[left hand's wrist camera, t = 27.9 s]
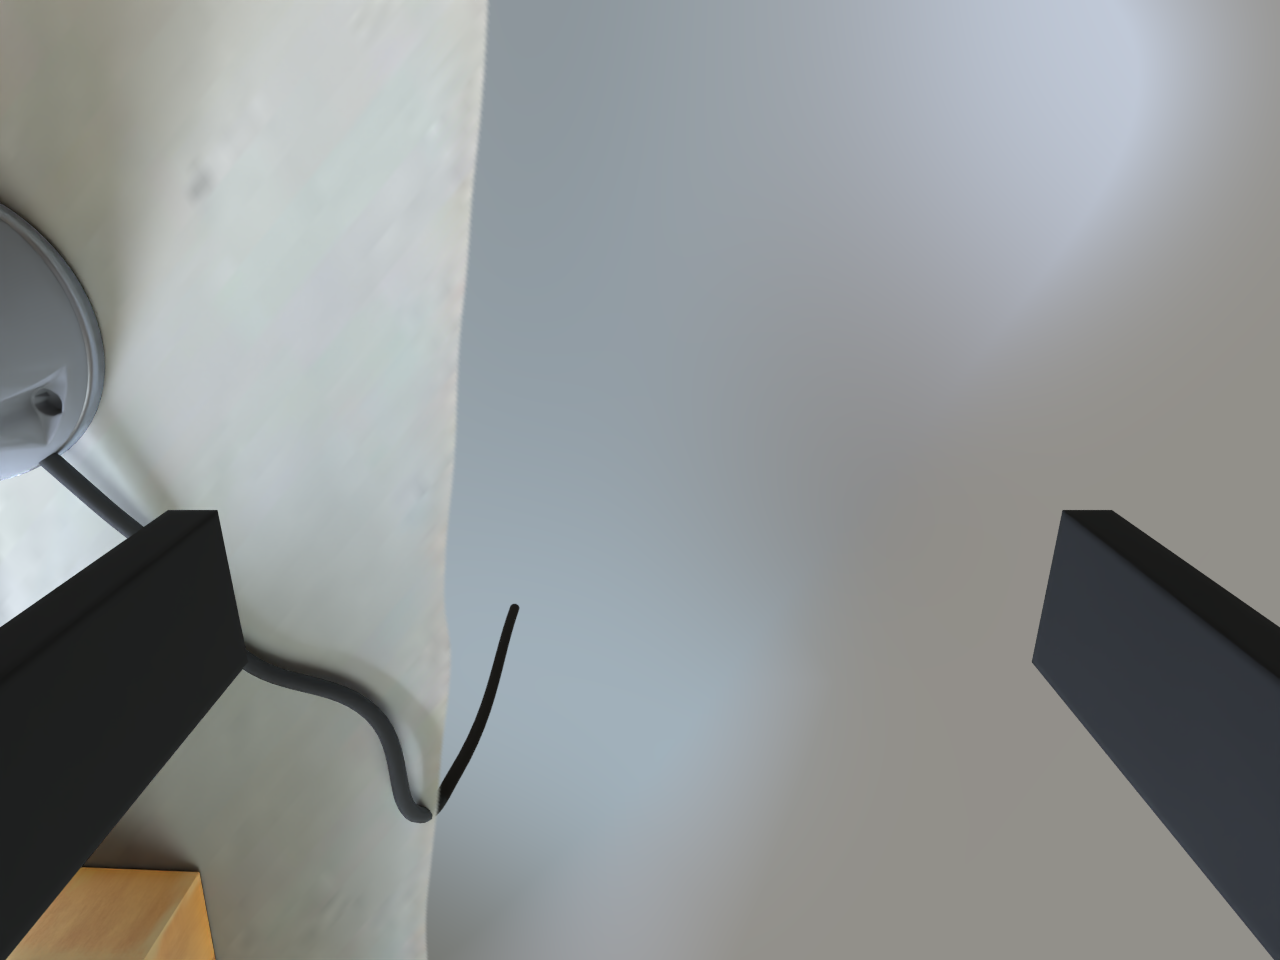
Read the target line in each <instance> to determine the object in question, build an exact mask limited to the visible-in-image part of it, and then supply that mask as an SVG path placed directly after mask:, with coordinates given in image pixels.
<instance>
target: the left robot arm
mask: <svg viewBox="0 0 1280 960" xmlns="http://www.w3.org/2000/svg"><path fill="white" fill-rule="evenodd" d="M104 373H105V367H104V351H103V343H102V339H101V334H100V330H99V326H98V323H97V320H96V317H95V314H94V311H93V309H92V307H91V304H90V302H89V299H88V298H87V296H86V294H85V292H84V290H83V288H82V286H81V284H80V283H79V281H78V279H77V278H76V276H75V275H74V273H73V271H72V270H71V269H70V267H69V266H68V264H67V263H66V262H65V260H64V259H63V258H62V256H61V255H60V254H59V253H58V252H57V251H56V249H55V248H54V247H53V246H52V245H51V244H50V243H49V242H48V241H47V240H46V239H45V238H44V237H43V236H42V235H41V234H40V233H39V232H38V231H37V230H36V229H35V228H34V227H32V226H31V225H30V224H29V223H28V222H27V221H25V220H24V219H23V218H22V217H20V216H19V215H17V214H16V213H15V212H13V211H12V210H11V209H9V208H8V207H6V206H4V205H3V204H1V203H0V480H4V479H8V478H11V477H15V476H18V475H21V474H24V473H26V472H28V471H31V470H33V469H35V468H37V467H39V466H42V467H43V468H44V469H46V470H47V471H48V472H49V473H50V474H51V475H52V476H54V477H55V478H56V479H57V480H58V481H59V482H60V483H62V484H63V485H64V486H65V487H66V488H67V489H69V490H70V491H71V492H72V493H73V494H74V495H75V496H77V497H78V498H79V499H80V500H81V501H82V502H84V503H85V504H86V505H87V506H88V507H89V508H91V509H92V510H93V511H94V512H95V513H96V514H98V515H99V516H100V517H101V518H102V519H104V520H105V521H106V522H107V523H109V524H110V525H111V526H112V527H114V528H115V529H116V530H117V531H119V532H120V533H121V534H122V535H124V536H125V537H126V538H128V539H126V540H125V541H123V542H122V543H120V544H119V545H117V546H116V547H115V548H113V549H112V550H110V551H109V552H107V553H106V554H105V555H103V556H102V557H100V558H99V559H97V560H96V561H95V562H93V563H92V564H90V565H89V566H87V567H86V568H85V569H83V570H82V571H80V572H79V573H77V574H76V575H75V576H73V577H72V578H70V579H69V580H67V581H66V582H64V583H63V584H62V585H60V586H59V587H57V588H56V589H54V590H53V591H52V592H50V593H49V594H47V595H46V596H44V597H43V598H42V599H40V600H39V601H37V602H36V603H34V604H33V605H32V606H30V607H29V608H27V609H26V610H24V611H23V612H22V613H20V614H19V615H17V616H16V617H14V618H13V619H11V620H10V621H9V622H7V623H6V624H4V625H3V626H1V627H0V960H6V959H7V958H8V956H9V955H10V954H11V953H12V952H13V950H14V949H15V948H16V947H17V945H18V944H19V943H20V942H21V941H22V939H23V938H24V937H25V936H26V934H27V933H28V932H29V931H30V929H31V928H32V927H33V926H34V925H35V923H36V922H37V921H38V920H39V918H40V917H41V916H42V915H43V913H44V912H45V911H46V910H47V909H48V907H49V906H50V905H51V904H52V902H53V901H54V900H55V899H56V898H57V896H58V895H59V894H60V893H61V891H62V890H63V889H64V888H65V886H66V885H67V884H68V883H69V882H70V880H71V879H72V878H73V877H74V875H75V874H76V873H77V872H78V870H79V869H80V868H81V867H82V866H83V864H84V863H85V862H86V861H87V859H88V858H89V857H90V856H91V855H92V853H93V852H94V851H95V850H96V848H97V847H98V846H99V845H100V843H101V842H102V841H103V840H104V839H105V837H106V836H107V835H108V834H109V832H110V831H111V830H112V829H113V828H114V826H115V825H116V824H117V823H118V821H119V820H120V819H121V818H122V816H123V815H124V814H125V813H126V812H127V810H128V809H129V808H130V807H131V805H132V804H133V803H134V802H135V800H136V799H137V798H138V797H139V796H140V794H141V793H142V792H143V791H144V789H145V788H146V787H147V786H148V785H149V783H150V782H151V781H152V780H153V778H154V777H155V776H156V775H157V773H158V772H159V771H160V770H161V769H162V767H163V766H164V765H165V764H166V762H167V761H168V760H169V759H170V757H171V756H172V755H173V754H174V753H175V751H176V750H177V749H178V748H179V746H180V745H181V744H182V743H183V742H184V740H185V739H186V738H187V737H188V735H189V734H190V733H191V732H192V730H193V729H194V728H195V727H196V726H197V724H198V723H199V722H200V721H201V719H202V718H203V717H204V716H205V714H206V713H207V712H208V711H209V710H210V708H211V707H212V706H213V705H214V703H215V702H216V701H217V700H218V699H219V697H220V696H221V695H222V694H223V692H224V691H225V690H226V689H227V687H228V686H229V685H230V684H231V683H232V681H233V680H234V679H235V678H236V676H237V675H238V674H239V673H240V671H241V670H242V669H243V670H245V671H246V672H248V673H250V674H252V675H254V676H256V677H258V678H260V679H262V680H265V681H267V682H270V683H272V684H275V685H279V686H282V687H285V688H289V689H293V690H297V691H301V692H305V693H309V694H313V695H318V696H321V697H325V698H328V699H331V700H334V701H337V702H339V703H341V704H343V705H346V706H348V707H349V708H351V709H353V710H354V711H356V712H357V713H358V714H360V715H361V716H362V717H363V718H365V719H366V720H367V721H368V723H369V724H370V725H371V726H372V727H373V729H374V730H375V732H376V733H377V735H378V737H379V739H380V741H381V744H382V746H383V749H384V752H385V756H386V760H387V764H388V769H389V775H390V780H391V786H392V791H393V795H394V799H395V802H396V804H397V806H398V809H399V810H400V812H401V813H402V814H403V816H404V817H405V818H406V819H408V820H410V821H411V822H416V823H425V822H428V821H429V820H431V819H432V813H431V812H430V810H428V809H427V808H425V807H420V806H418V805H417V804H415V802H414V801H413V798H412V796H411V792H410V789H409V784H408V778H407V773H406V767H405V761H404V757H403V753H402V749H401V745H400V742H399V739H398V737H397V734H396V732H395V730H394V727H393V726H392V724H391V723H390V721H389V719H388V718H387V717H386V715H385V714H384V713H383V712H382V711H381V710H380V709H379V707H377V706H376V705H375V704H374V703H373V702H371V701H370V700H369V699H368V698H366V697H364V696H363V695H361V694H360V693H358V692H356V691H354V690H352V689H350V688H348V687H345V686H343V685H340V684H337V683H334V682H331V681H327V680H324V679H320V678H316V677H312V676H308V675H304V674H299V673H296V672H292V671H288V670H285V669H282V668H279V667H276V666H274V665H271V664H269V663H267V662H265V661H263V660H261V659H259V658H257V657H256V656H254V655H253V654H251V653H250V652H248V651H247V650H246V649H245V644H244V639H243V634H242V629H241V624H240V619H239V614H238V609H237V605H236V600H235V595H234V590H233V585H232V580H231V575H230V570H229V565H228V560H227V555H226V550H225V545H224V540H223V535H222V531H221V526H220V521H219V516H218V511H217V510H168V511H166V512H165V513H163V514H162V515H160V516H159V517H158V518H156V519H155V520H153V521H152V522H150V523H149V524H148V525H146V526H145V527H143V526H142V525H140V524H139V523H138V522H137V521H135V520H134V519H133V518H132V517H130V516H129V515H128V514H127V513H126V512H124V511H123V510H122V509H121V508H119V507H118V506H117V505H116V504H115V503H114V502H112V501H111V500H110V499H109V498H108V497H107V496H105V495H104V494H103V493H102V492H101V491H100V490H99V489H98V488H96V487H95V486H94V485H93V484H92V483H91V482H90V481H88V480H87V479H86V478H85V477H84V476H83V475H82V474H80V473H79V472H78V471H77V470H76V469H75V468H74V467H73V466H71V465H70V464H69V463H68V462H67V461H66V460H65V459H64V458H62V457H61V456H60V455H61V454H63V453H64V452H66V451H67V450H68V449H69V448H70V447H72V446H73V445H74V444H75V443H76V442H77V441H78V440H79V438H80V437H81V436H82V435H83V434H84V432H85V431H86V429H87V428H88V426H89V425H90V423H91V422H92V419H93V417H94V415H95V413H96V411H97V408H98V405H99V402H100V399H101V395H102V390H103V384H104ZM518 612H519V606H518V605H517V604H512V605H511V606H510V608H509V611H508V614H507V617H506V620H505V623H504V626H503V630H502V633H501V637H500V640H499V644H498V647H497V651H496V655H495V658H494V662H493V666H492V669H491V673H490V676H489V680H488V683H487V686H486V690H485V693H484V696H483V699H482V702H481V705H480V708H479V710H478V713H477V715H476V718H475V721H474V723H473V725H472V728H471V730H470V732H469V734H468V736H467V738H466V740H465V742H464V744H463V746H462V748H461V750H460V752H459V754H458V756H457V757H456V759H455V761H454V762H453V764H452V766H451V768H450V769H449V771H448V773H447V774H446V776H445V778H444V780H443V781H442V783H441V785H440V787H439V790H438V791H439V793H438V801H437V802H438V804H437V812H436V813H437V814H436V816H437V815H438V814H439V813H440V812H441V810H442V809H443V808H444V806H445V805H446V803H447V801H448V800H449V798H450V796H451V794H452V792H453V791H454V789H455V787H456V785H457V783H458V781H459V780H460V778H461V776H462V774H463V772H464V771H465V769H466V767H467V765H468V763H469V762H470V760H471V758H472V755H473V753H474V751H475V749H476V747H477V745H478V743H479V740H480V738H481V736H482V733H483V731H484V728H485V726H486V723H487V720H488V718H489V715H490V712H491V709H492V706H493V702H494V699H495V696H496V692H497V689H498V685H499V681H500V678H501V674H502V670H503V666H504V662H505V658H506V654H507V650H508V646H509V642H510V638H511V635H512V631H513V627H514V624H515V621H516V618H517V615H518ZM1032 663H1033V664H1034V665H1035V667H1036V668H1037V669H1038V670H1039V671H1040V673H1041V674H1042V675H1043V676H1044V678H1045V679H1046V680H1047V681H1048V682H1049V684H1050V685H1051V686H1052V687H1053V689H1054V690H1055V691H1056V692H1057V694H1058V695H1059V696H1060V697H1061V699H1062V700H1063V701H1064V702H1065V703H1066V705H1067V706H1068V707H1069V708H1070V710H1071V711H1072V712H1073V713H1074V714H1075V716H1076V717H1077V718H1078V719H1079V721H1080V722H1081V723H1082V724H1083V725H1084V727H1085V728H1086V729H1087V730H1088V732H1089V733H1090V734H1091V735H1092V737H1093V738H1094V739H1095V740H1096V741H1097V743H1098V744H1099V745H1100V746H1101V748H1102V749H1103V750H1104V751H1105V753H1106V754H1107V755H1108V756H1109V757H1110V759H1111V760H1112V761H1113V762H1114V764H1115V765H1116V766H1117V767H1118V768H1119V770H1120V771H1121V772H1122V773H1123V775H1124V776H1125V777H1126V778H1127V780H1128V781H1129V782H1130V783H1131V784H1132V786H1133V787H1134V788H1135V789H1136V791H1137V792H1138V793H1139V794H1140V796H1141V797H1142V798H1143V799H1144V800H1145V802H1146V803H1147V804H1148V805H1149V807H1150V808H1151V809H1152V810H1153V812H1154V813H1155V814H1156V815H1157V816H1158V818H1159V819H1160V820H1161V821H1162V823H1163V824H1164V825H1165V826H1166V827H1167V829H1168V830H1169V831H1170V832H1171V834H1172V835H1173V836H1174V837H1175V839H1176V840H1177V841H1178V842H1179V843H1180V845H1181V846H1182V847H1183V848H1184V850H1185V851H1186V852H1187V853H1188V855H1189V856H1190V857H1191V858H1192V859H1193V861H1194V862H1195V863H1196V864H1197V866H1198V867H1199V868H1200V869H1201V870H1202V872H1203V873H1204V874H1205V875H1206V877H1207V878H1208V879H1209V880H1210V881H1211V883H1212V884H1213V885H1214V886H1215V888H1216V889H1217V890H1218V891H1219V893H1220V894H1221V895H1222V896H1223V897H1224V899H1225V900H1226V901H1227V902H1228V904H1229V905H1230V906H1231V907H1232V909H1233V910H1234V911H1235V912H1236V913H1237V915H1238V916H1239V917H1240V918H1241V920H1242V921H1243V922H1244V923H1245V925H1246V926H1247V927H1248V928H1249V929H1250V931H1251V932H1252V933H1253V934H1254V936H1255V937H1256V938H1257V939H1258V940H1259V942H1260V943H1261V944H1262V945H1263V947H1264V948H1265V949H1266V950H1267V952H1268V953H1269V954H1270V955H1271V956H1272V958H1273V959H1274V960H1280V627H1278V626H1277V625H1276V624H1274V623H1273V622H1271V621H1270V620H1268V619H1267V618H1266V617H1264V616H1263V615H1261V614H1260V613H1258V612H1257V611H1256V610H1254V609H1253V608H1251V607H1250V606H1248V605H1247V604H1246V603H1244V602H1243V601H1241V600H1240V599H1238V598H1237V597H1236V596H1234V595H1233V594H1231V593H1230V592H1228V591H1227V590H1226V589H1224V588H1223V587H1221V586H1220V585H1218V584H1217V583H1215V582H1214V581H1213V580H1211V579H1210V578H1208V577H1207V576H1205V575H1204V574H1203V573H1201V572H1200V571H1198V570H1197V569H1195V568H1194V567H1193V566H1191V565H1190V564H1188V563H1187V562H1185V561H1184V560H1183V559H1181V558H1180V557H1178V556H1177V555H1175V554H1174V553H1172V552H1171V551H1170V550H1168V549H1167V548H1165V547H1164V546H1162V545H1161V544H1160V543H1158V542H1157V541H1155V540H1154V539H1152V538H1151V537H1150V536H1148V535H1147V534H1145V533H1144V532H1142V531H1141V530H1140V529H1138V528H1137V527H1135V526H1134V525H1132V524H1131V523H1130V522H1128V521H1127V520H1125V519H1124V518H1122V517H1121V516H1120V515H1118V514H1117V513H1115V512H1114V511H1112V510H1063V511H1062V516H1061V521H1060V526H1059V531H1058V536H1057V540H1056V546H1055V550H1054V555H1053V560H1052V565H1051V570H1050V575H1049V580H1048V585H1047V590H1046V595H1045V600H1044V605H1043V609H1042V614H1041V619H1040V624H1039V629H1038V634H1037V639H1036V644H1035V649H1034V654H1033V659H1032Z"/></svg>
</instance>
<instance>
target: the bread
mask: <svg viewBox="0 0 1280 960" xmlns="http://www.w3.org/2000/svg"><path fill="white" fill-rule="evenodd" d="M6 960H215V955H214V949H213V944H212V938H211V933H210V927H209V922H208V916H207V911H206V906H205V900H204V895H203V889H202V884H201V878H200V873H199V872H183V871H159V870H135V869H111V868H87V867H81V868H80V869H79V870H78V872H77V873H76V874H75V875H74V877H73V878H72V879H71V880H70V882H69V883H68V884H67V885H66V886H65V888H64V889H63V890H62V891H61V893H60V894H59V895H58V896H57V898H56V899H55V900H54V901H53V902H52V904H51V905H50V906H49V907H48V909H47V910H46V911H45V912H44V913H43V915H42V916H41V917H40V918H39V920H38V921H37V922H36V923H35V925H34V926H33V927H32V928H31V929H30V931H29V932H28V933H27V934H26V936H25V937H24V938H23V939H22V941H21V942H20V943H19V944H18V945H17V947H16V948H15V949H14V950H13V952H12V953H11V954H10V955H9V956H8V958H7V959H6Z"/></svg>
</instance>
